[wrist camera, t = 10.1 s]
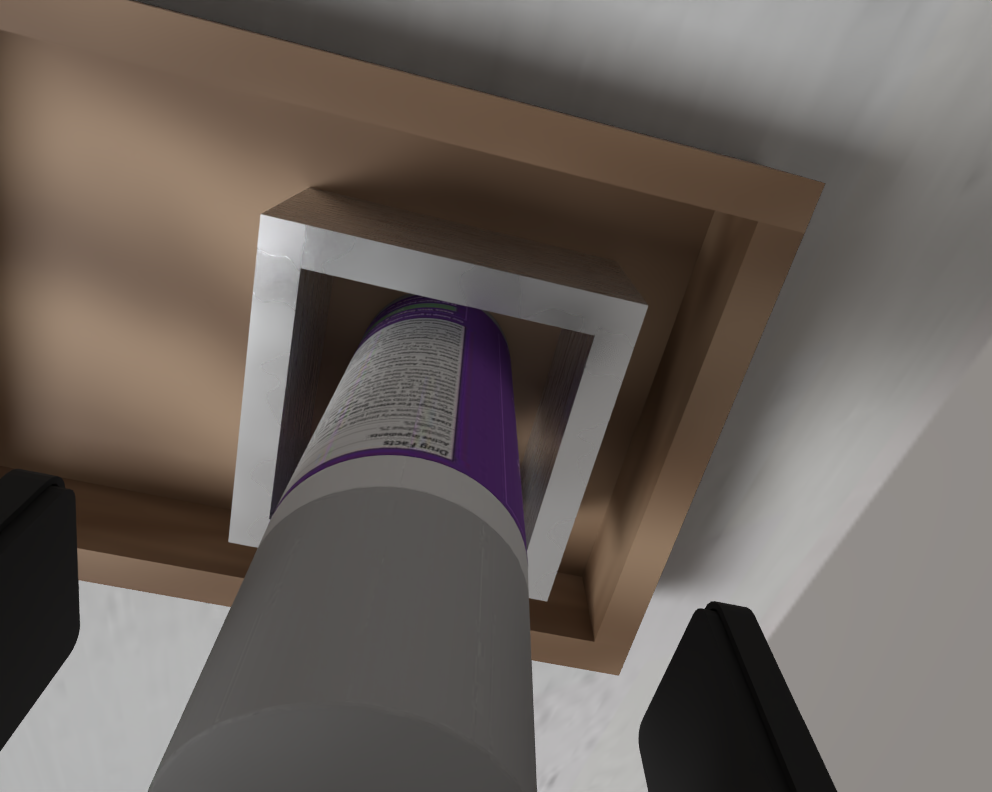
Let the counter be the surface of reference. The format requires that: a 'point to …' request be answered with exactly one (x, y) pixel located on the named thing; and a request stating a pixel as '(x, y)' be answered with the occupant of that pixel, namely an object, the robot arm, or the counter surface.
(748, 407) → the counter surface
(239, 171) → the walled tray
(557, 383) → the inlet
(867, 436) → the counter surface
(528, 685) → the container
